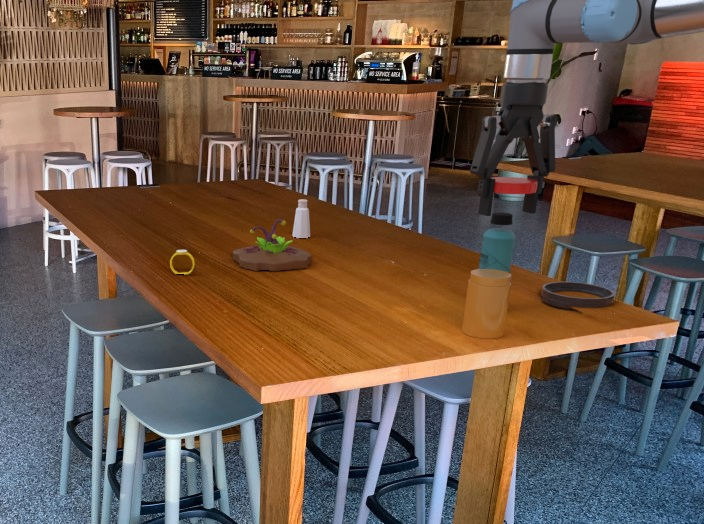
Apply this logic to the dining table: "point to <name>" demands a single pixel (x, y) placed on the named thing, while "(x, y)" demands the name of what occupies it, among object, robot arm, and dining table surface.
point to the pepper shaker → (301, 220)
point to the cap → (515, 185)
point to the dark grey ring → (562, 300)
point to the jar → (486, 303)
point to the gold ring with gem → (182, 252)
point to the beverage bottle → (498, 244)
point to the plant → (272, 253)
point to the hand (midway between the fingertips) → (506, 213)
